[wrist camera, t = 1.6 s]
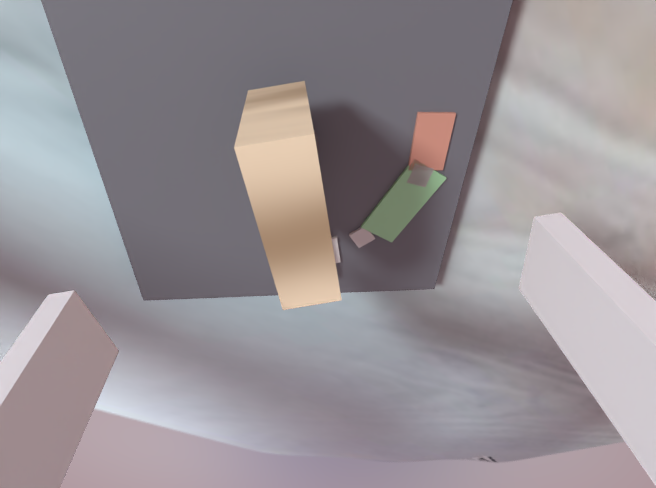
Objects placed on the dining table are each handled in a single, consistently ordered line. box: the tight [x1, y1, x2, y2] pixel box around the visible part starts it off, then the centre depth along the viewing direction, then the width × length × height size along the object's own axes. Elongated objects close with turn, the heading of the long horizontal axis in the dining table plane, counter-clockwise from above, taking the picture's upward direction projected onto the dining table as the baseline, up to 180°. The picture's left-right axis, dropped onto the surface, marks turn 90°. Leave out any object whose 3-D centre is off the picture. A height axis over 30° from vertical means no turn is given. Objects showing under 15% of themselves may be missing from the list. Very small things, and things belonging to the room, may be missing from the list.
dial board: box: [41, 0, 513, 300], centre depth 21 cm, size 20×22×2 cm
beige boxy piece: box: [234, 81, 342, 310], centre depth 18 cm, size 12×3×8 cm, turn 8°
